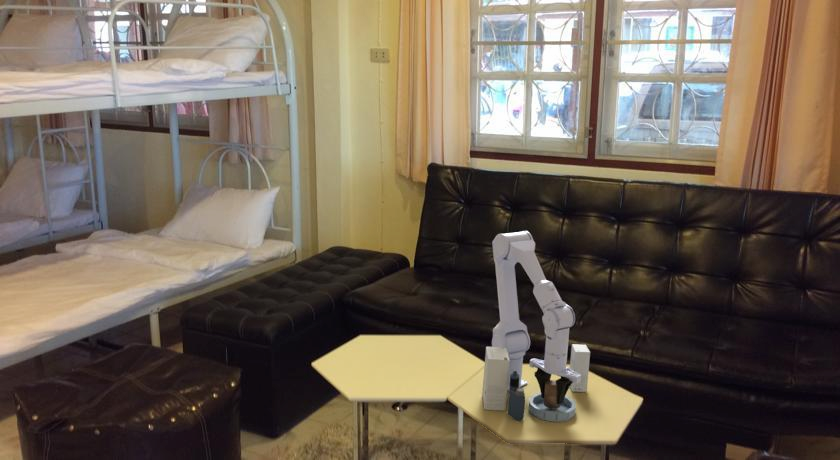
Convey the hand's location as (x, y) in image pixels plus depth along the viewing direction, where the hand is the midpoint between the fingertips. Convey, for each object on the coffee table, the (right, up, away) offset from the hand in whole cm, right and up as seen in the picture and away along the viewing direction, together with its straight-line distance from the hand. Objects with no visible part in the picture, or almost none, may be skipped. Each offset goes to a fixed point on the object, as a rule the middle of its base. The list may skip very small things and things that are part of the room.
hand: (552, 399), depth 187 cm
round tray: (0, -3, +1) cm, 3 cm away
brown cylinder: (0, -1, 0) cm, 1 cm away
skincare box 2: (+10, 0, +15) cm, 18 cm away
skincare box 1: (-15, -2, +4) cm, 16 cm away
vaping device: (-10, -4, -3) cm, 11 cm away
